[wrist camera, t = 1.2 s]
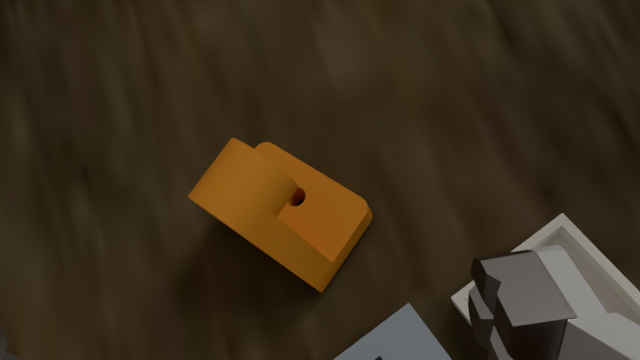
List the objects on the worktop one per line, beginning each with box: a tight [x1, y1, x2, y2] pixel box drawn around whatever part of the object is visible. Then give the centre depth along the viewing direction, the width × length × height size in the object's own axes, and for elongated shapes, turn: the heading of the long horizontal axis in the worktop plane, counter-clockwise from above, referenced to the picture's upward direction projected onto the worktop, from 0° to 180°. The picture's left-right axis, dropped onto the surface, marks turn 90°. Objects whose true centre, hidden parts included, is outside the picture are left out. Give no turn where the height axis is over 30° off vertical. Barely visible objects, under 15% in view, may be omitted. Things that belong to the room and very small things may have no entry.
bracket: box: [187, 138, 372, 293], centre depth 42 cm, size 11×7×12 cm, turn 53°
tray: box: [451, 213, 640, 327], centre depth 39 cm, size 9×9×3 cm
